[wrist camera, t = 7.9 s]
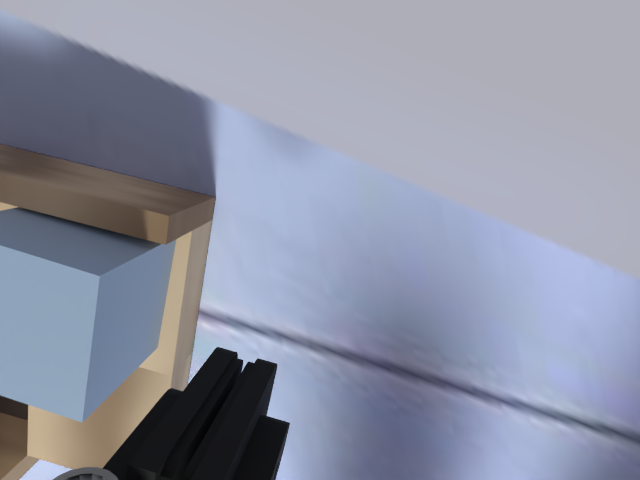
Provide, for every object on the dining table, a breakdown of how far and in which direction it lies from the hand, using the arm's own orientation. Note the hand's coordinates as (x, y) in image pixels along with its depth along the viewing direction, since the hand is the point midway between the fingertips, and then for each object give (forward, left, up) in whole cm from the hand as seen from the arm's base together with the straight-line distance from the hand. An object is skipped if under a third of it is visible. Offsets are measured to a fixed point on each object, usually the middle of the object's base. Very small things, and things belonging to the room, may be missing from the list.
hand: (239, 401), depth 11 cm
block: (-7, +2, -5) cm, 9 cm away
